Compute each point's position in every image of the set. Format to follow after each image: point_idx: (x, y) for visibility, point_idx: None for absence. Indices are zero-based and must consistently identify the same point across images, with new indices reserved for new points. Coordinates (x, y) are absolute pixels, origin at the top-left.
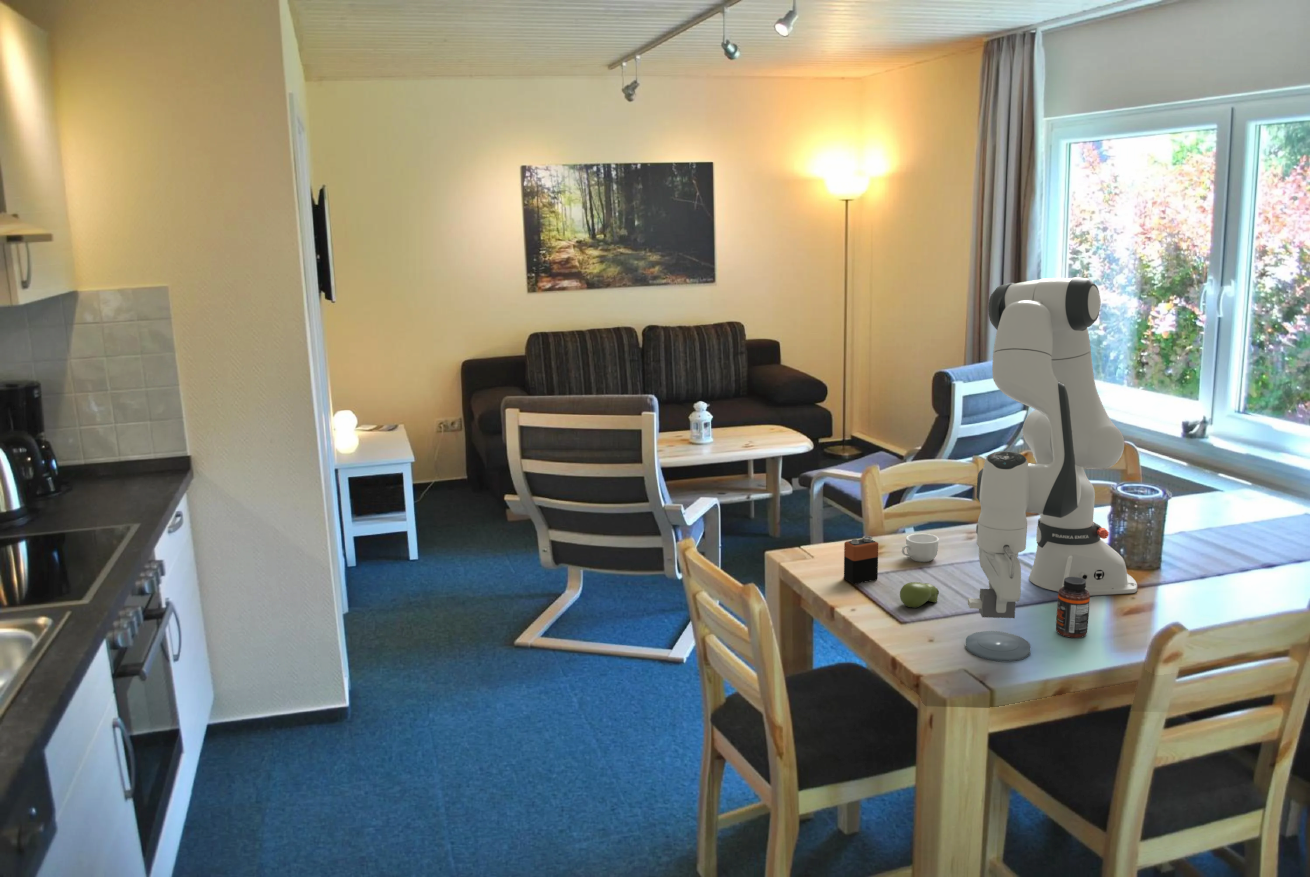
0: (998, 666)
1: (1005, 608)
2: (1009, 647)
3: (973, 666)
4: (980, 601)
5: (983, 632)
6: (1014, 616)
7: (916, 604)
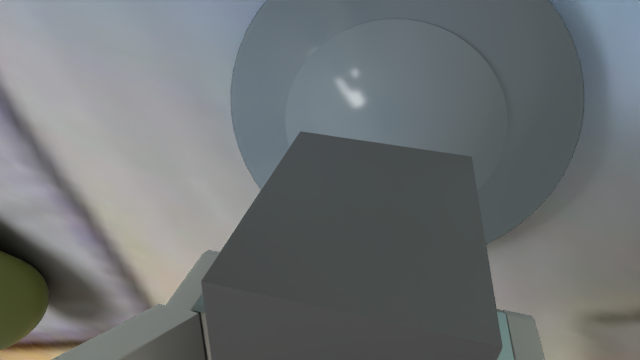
0: (613, 188)
1: (540, 349)
2: (467, 95)
3: (574, 281)
4: None
5: (254, 153)
6: (473, 168)
7: (41, 290)
